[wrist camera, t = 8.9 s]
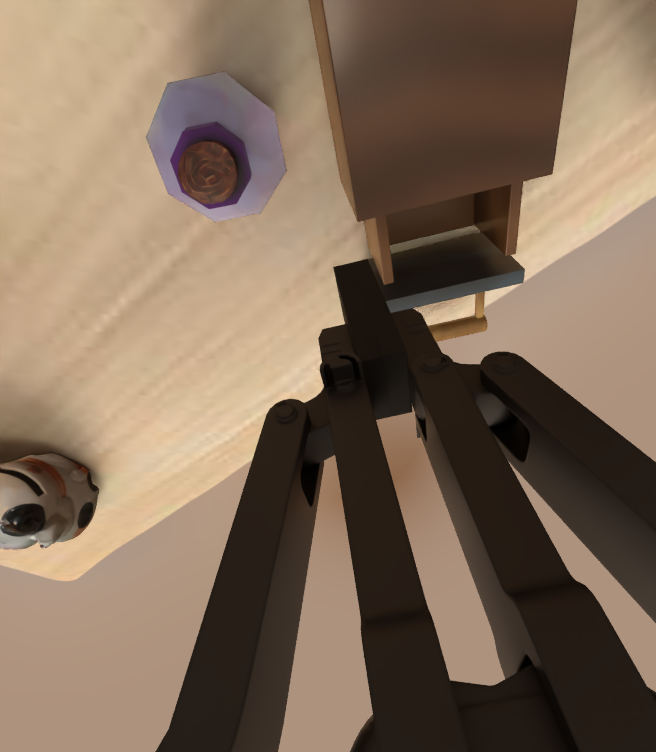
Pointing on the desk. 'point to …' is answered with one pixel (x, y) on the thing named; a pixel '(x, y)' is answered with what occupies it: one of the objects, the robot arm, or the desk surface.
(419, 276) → the drawer
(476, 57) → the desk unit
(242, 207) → the potion bottle
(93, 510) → the lucky cat figurine
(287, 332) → the desk surface
